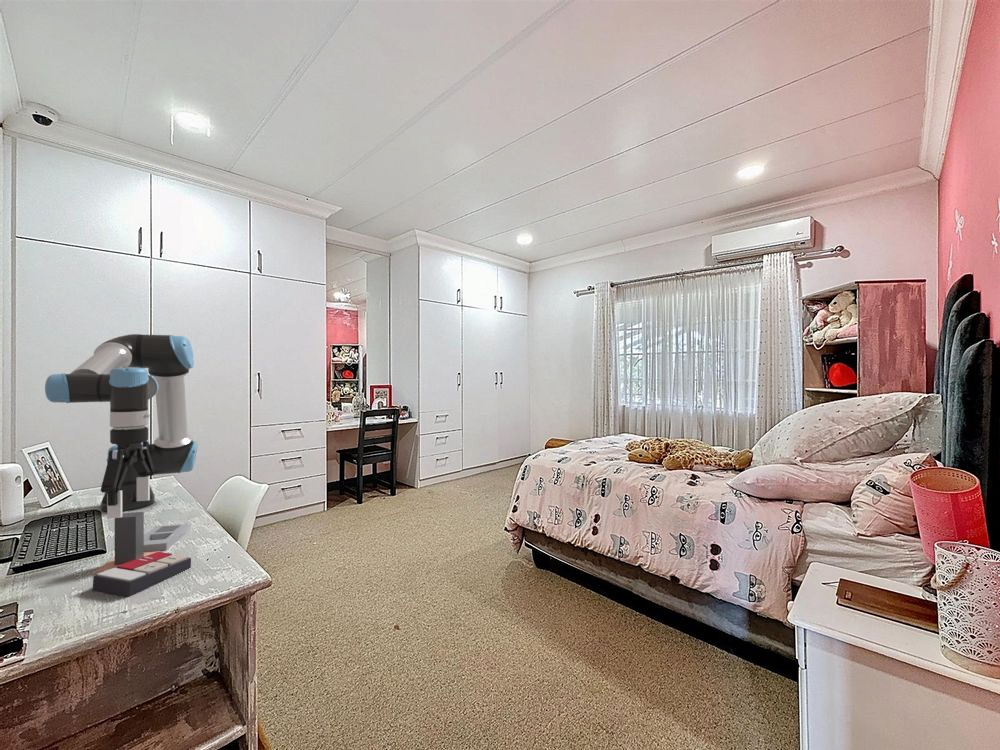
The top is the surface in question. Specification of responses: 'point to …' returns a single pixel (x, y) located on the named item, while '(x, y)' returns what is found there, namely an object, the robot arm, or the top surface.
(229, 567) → the top surface
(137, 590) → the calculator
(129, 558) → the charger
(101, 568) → the mat
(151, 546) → the grey flat block
